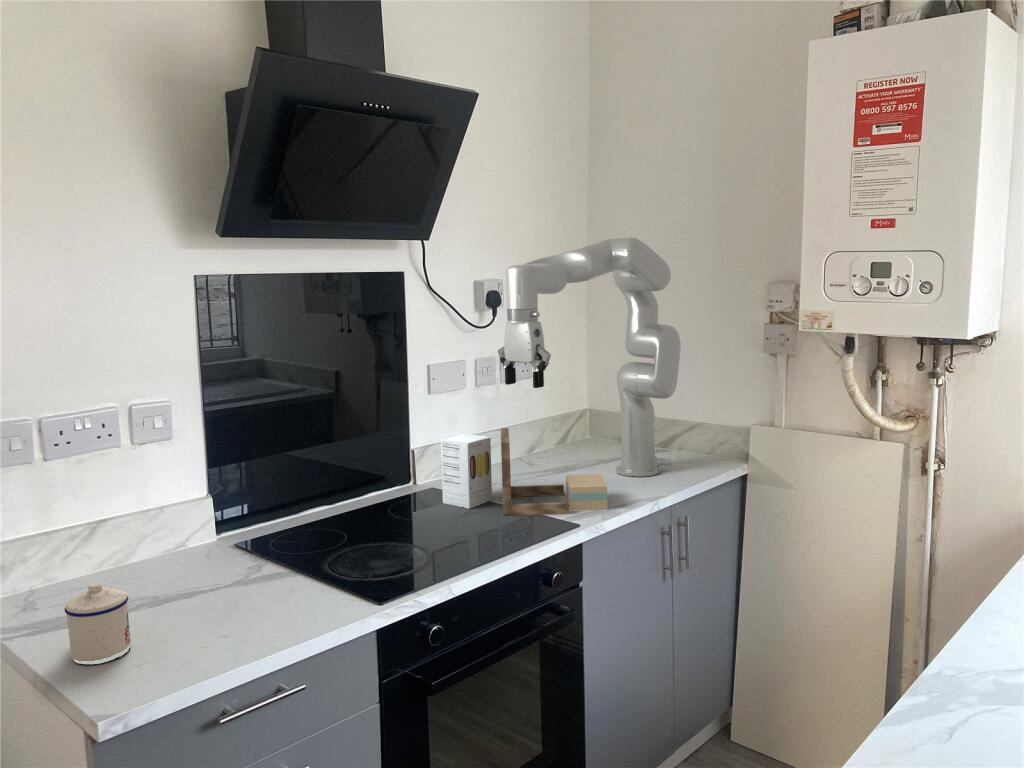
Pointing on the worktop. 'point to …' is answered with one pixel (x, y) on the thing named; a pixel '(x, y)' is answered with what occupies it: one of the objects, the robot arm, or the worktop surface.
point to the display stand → (526, 489)
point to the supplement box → (466, 470)
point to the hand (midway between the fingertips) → (524, 385)
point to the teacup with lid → (98, 623)
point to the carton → (586, 492)
